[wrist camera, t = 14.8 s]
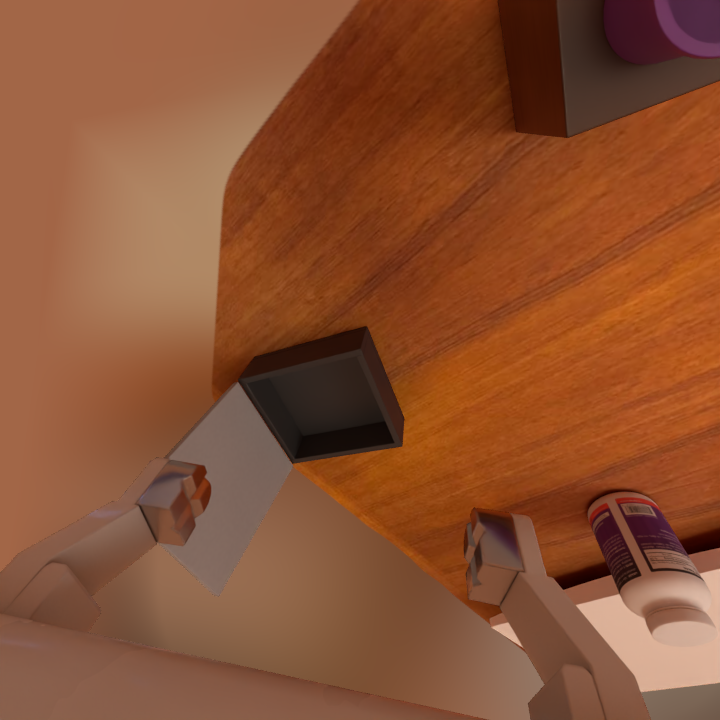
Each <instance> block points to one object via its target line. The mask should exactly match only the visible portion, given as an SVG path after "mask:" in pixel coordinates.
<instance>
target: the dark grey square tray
mask: <svg viewBox="0 0 720 720" xmlns="http://www.w3.org/2000/svg"><path fill="white" fill-rule="evenodd" d="M238 381H239V383H240V384H241V385H242V387H243V388H244V390H245V392H246V393H247V395H248V396H249V398H250V399H251V401H252V402H253V404H254V405H255V407H256V408H257V410H258V411H259V413H260V415H261V416H262V418H263V419H264V421H265V422H266V424H267V425H268V427H269V428H270V430H271V431H272V433H273V434H274V436H275V438H276V439H277V441H278V442H279V444H280V445H281V447H282V448H283V450H284V451H285V453H286V454H287V456H288V458H289V459H290V461H291V462H292V464H293V463H299V462H306V461H312V460H319V459H325V458H331V457H338V456H344V455H351V454H357V453H363V452H370V451H376V450H383V449H389V448H395V447H402V444H403V430H404V417H403V414H402V412H401V409H400V407H399V404H398V402H397V399H396V397H395V395H394V392H393V390H392V387H391V385H390V382H389V380H388V377H387V375H386V372H385V370H384V367H383V365H382V362H381V360H380V358H379V355H378V353H377V350H376V348H375V345H374V343H373V340H372V338H371V335H370V333H369V330H368V328H367V327H363V328H359V329H356V330H352V331H348V332H345V333H341V334H337V335H334V336H330V337H326V338H322V339H319V340H315V341H311V342H308V343H304V344H300V345H297V346H293V347H289V348H286V349H282V350H278V351H275V352H271V353H267V354H264V355H260V356H256V357H254V359H253V360H252V361H251V362H250V364H249V365H248V367H247V368H246V369H245V371H244V372H243V373H242V375H241V376H240V378H239V379H238Z"/></svg>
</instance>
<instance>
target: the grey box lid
mask: <svg viewBox="0 0 720 720" xmlns="http://www.w3.org/2000/svg"><path fill="white" fill-rule="evenodd" d="M164 458H165V459H171V460H176V461H182V462H188V463H193V464H199V465H205V468H206V471H207V474H206V475H205V478H206V479H207V480H208V481H209V482H210V484H211V497H210V500H209V503H208V505H207V507H206V509H205V511H204V513H202V514H201V515H199V516H198V517H196V518H195V523H196V526H195V528H194V530H193V532H192V533H191V535H190V537H189V538H188V540H187V542H186V544H185V545H184V547H183V546H177V545H170V544H164V543H158V544H159V545H161V546H162V547H163V548H164V549H165V550H166V551H167V552H168V553H169V554H170V555H171V556H172V557H173V558H174V559H175V560H177V561H178V562H179V563H180V564H181V565H182V566H183V567H184V568H185V569H186V570H187V571H188V572H189V573H190V574H191V575H192V576H194V577H195V578H196V579H197V580H198V581H199V582H200V583H201V584H202V585H203V586H204V587H205V588H206V589H208V590H209V591H210V592H211V593H212V594H213V595H214V596H219V595H220V594H221V592H222V590H223V588H224V587H225V584H226V583H227V581H228V579H229V578H230V576H231V574H232V573H233V571H234V569H235V567H236V565H237V564H238V562H239V560H240V559H241V557H242V555H243V553H244V551H245V550H246V548H247V546H248V545H249V543H250V541H251V539H252V538H253V536H254V534H255V532H256V530H257V529H258V527H259V525H260V524H261V522H262V520H263V518H264V517H265V515H266V513H267V511H268V510H269V508H270V506H271V504H272V502H273V501H274V499H275V497H276V496H277V494H278V492H279V490H280V488H281V487H282V485H283V483H284V482H285V480H286V478H287V476H288V475H289V473H290V471H291V469H292V468H293V465H292V464H291V462H290V461H289V459H288V458H287V456H286V455H285V453H284V452H283V450H282V448H281V447H280V445H279V444H278V442H277V441H276V439H275V438H274V436H273V435H272V433H271V432H270V430H269V429H268V427H267V426H266V424H265V422H264V421H263V419H262V418H261V416H260V415H259V413H258V412H257V410H256V409H255V407H254V406H253V404H252V403H251V401H250V400H249V398H248V396H247V395H246V393H245V392H244V390H243V389H242V387H241V386H240V384H239V383H238V382H236V383H233V384H232V385H231V386H230V387H229V388H228V389H227V391H226V392H225V393H224V394H223V395H222V396H221V397H220V398H219V399H218V400H217V401H216V402H215V403H214V405H213V406H212V407H211V408H210V409H209V410H208V411H207V412H206V413H205V414H204V415H203V416H202V418H201V419H200V420H199V421H198V422H197V423H196V424H195V425H194V426H193V427H192V428H191V429H190V430H189V431H188V433H187V434H186V435H185V436H184V437H183V438H182V439H181V440H180V441H179V442H178V443H177V444H176V445H175V446H174V448H173V449H172V450H171V451H170V452H169V453H168V454H167V455H166V456H165V457H164Z"/></svg>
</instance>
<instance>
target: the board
mask: <svg viewBox="0 0 720 720" xmlns="http://www.w3.org/2000/svg"><path fill="white" fill-rule="evenodd" d="M688 556H689V558H690V559H691V561H692V563H693V564H694V566H695V567H696V569H697V571H698V572H699V574H700V575H701V577H702V578H703V580H704V582H705V583H706V585H707V587H708V588H709V590H710V592H711V596H712V601H711V605H710V607H709V609H708V610H707V611H706V613H707V614H708V616H709V617H710V618H711V620H712V621H713V623H714V625H715V627H716V629H717V631H718V636H717V637H716V638H715V639H714V640H713V641H711V642H709V643H706V644H703V645H699V646H692V647H676V646H669V645H665V644H662V643H659V642H657V641H656V640H655V639H654V638H653V637H652V635H651V633H650V631H649V629H648V627H647V625H646V622H645V619H644V618H642V617H640V616H638V615H636V614H635V613H633V612H632V611H630V610H629V609H628V608H627V607H626V605H625V604H624V602H623V601H622V598H621V596H620V594H619V591H618V589H617V587H616V584H615V582H614V579H613V577H612V575H609V576H606V577H603V578H599V579H596V580H593V581H590V582H586V583H583V584H580V585H577V586H574V587H571V588H568V589H565V590H564V592H565V593H566V594H567V595H568V596H569V598H570V599H571V600H572V601H573V602H574V604H575V605H576V606H577V607H578V608H579V610H580V611H581V612H582V613H583V614H584V616H585V617H586V618H587V619H588V620H589V622H590V623H591V624H592V625H593V626H594V628H595V629H596V630H597V631H598V632H599V634H600V635H601V636H602V637H603V638H604V640H605V641H606V642H607V643H608V644H609V646H610V647H611V648H612V649H613V650H614V652H615V653H616V654H617V655H618V656H619V658H620V659H621V660H622V661H623V662H624V664H625V665H626V666H627V667H628V668H629V670H630V671H631V672H632V673H633V674H634V676H635V678H636V681H637V683H638V686H639V689H640V691H641V692H646V691H654V690H662V689H670V688H679V687H687V686H696V685H704V684H712V683H720V548H717V549H712V550H708V551H703V552H699V553H695V554H690V555H688ZM490 625H491V627H492V628H493V629H495V630H496V631H498V632H499V633H501V634H502V635H504V636H506V637H507V638H509V639H510V640H512V641H513V642H515V643H516V644H518V645H519V646H521V647H522V645H521V643H520V641H519V640H518V638H517V636H516V635H515V633H514V631H513V630H512V628H511V626H510V624H509V623H508V621H507V619H506V618H505V616H504V614H503V613H501V614H499V615H496V616H494V617H492V618H490Z"/></svg>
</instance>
